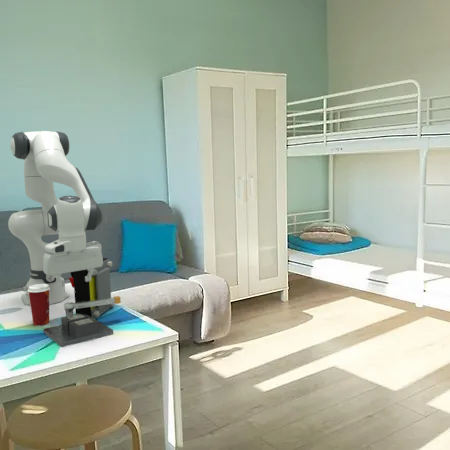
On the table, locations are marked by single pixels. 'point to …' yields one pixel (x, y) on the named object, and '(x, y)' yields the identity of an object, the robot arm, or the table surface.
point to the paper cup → (39, 303)
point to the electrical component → (92, 288)
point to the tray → (71, 339)
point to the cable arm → (91, 303)
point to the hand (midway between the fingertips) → (75, 283)
